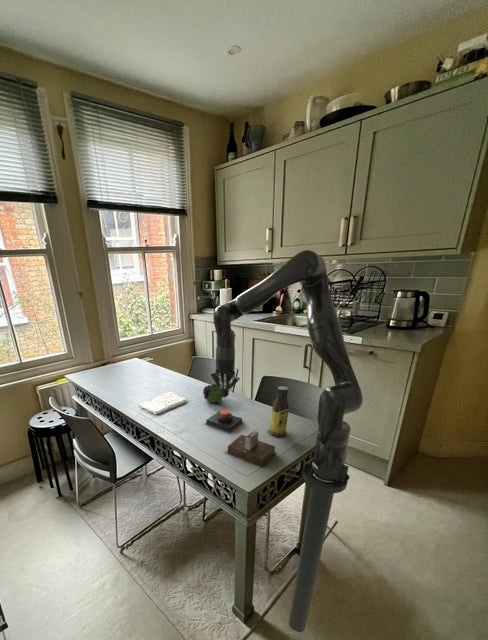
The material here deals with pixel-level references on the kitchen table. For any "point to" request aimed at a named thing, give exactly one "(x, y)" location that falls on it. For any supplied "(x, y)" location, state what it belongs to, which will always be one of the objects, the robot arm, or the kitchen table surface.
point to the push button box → (224, 422)
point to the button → (224, 414)
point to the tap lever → (251, 440)
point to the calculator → (163, 403)
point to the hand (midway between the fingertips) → (224, 396)
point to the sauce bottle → (279, 412)
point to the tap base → (251, 451)
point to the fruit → (212, 393)
